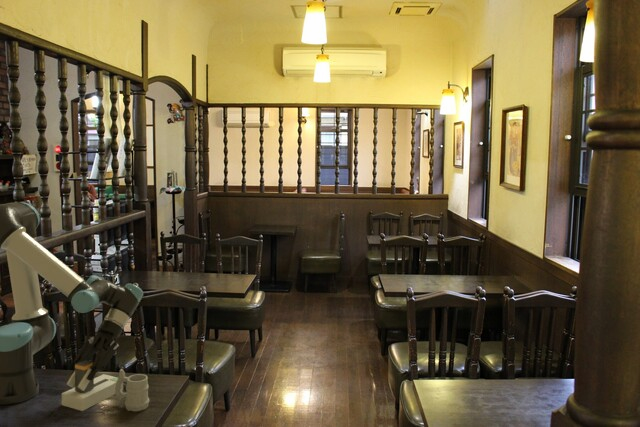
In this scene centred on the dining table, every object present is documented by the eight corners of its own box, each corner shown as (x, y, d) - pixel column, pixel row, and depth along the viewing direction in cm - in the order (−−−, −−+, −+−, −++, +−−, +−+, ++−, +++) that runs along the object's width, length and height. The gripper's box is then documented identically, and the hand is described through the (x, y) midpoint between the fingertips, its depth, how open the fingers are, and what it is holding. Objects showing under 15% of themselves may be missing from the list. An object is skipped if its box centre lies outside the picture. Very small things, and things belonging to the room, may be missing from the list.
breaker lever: (74, 390, 172) (74, 364, 172) (84, 385, 176) (84, 360, 175) (84, 393, 171) (84, 366, 170) (93, 388, 175) (94, 362, 174)
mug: (141, 413, 168) (142, 377, 167) (108, 408, 170) (108, 373, 169) (153, 403, 175) (154, 368, 174) (121, 398, 177) (122, 364, 176)
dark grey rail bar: (104, 383, 189) (104, 379, 189) (106, 381, 190) (106, 378, 190) (130, 389, 184) (130, 386, 184) (132, 388, 186) (132, 385, 185)
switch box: (61, 405, 171) (61, 392, 171) (103, 384, 187) (103, 373, 187) (82, 411, 168) (82, 398, 167) (123, 389, 184) (123, 378, 184)
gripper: (137, 333, 183) (101, 397, 169) (100, 326, 189) (62, 386, 176) (127, 323, 178) (88, 387, 164) (89, 315, 184) (49, 377, 170)
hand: (75, 387), depth 170 cm, fingers closed on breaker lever, 4 cm apart
